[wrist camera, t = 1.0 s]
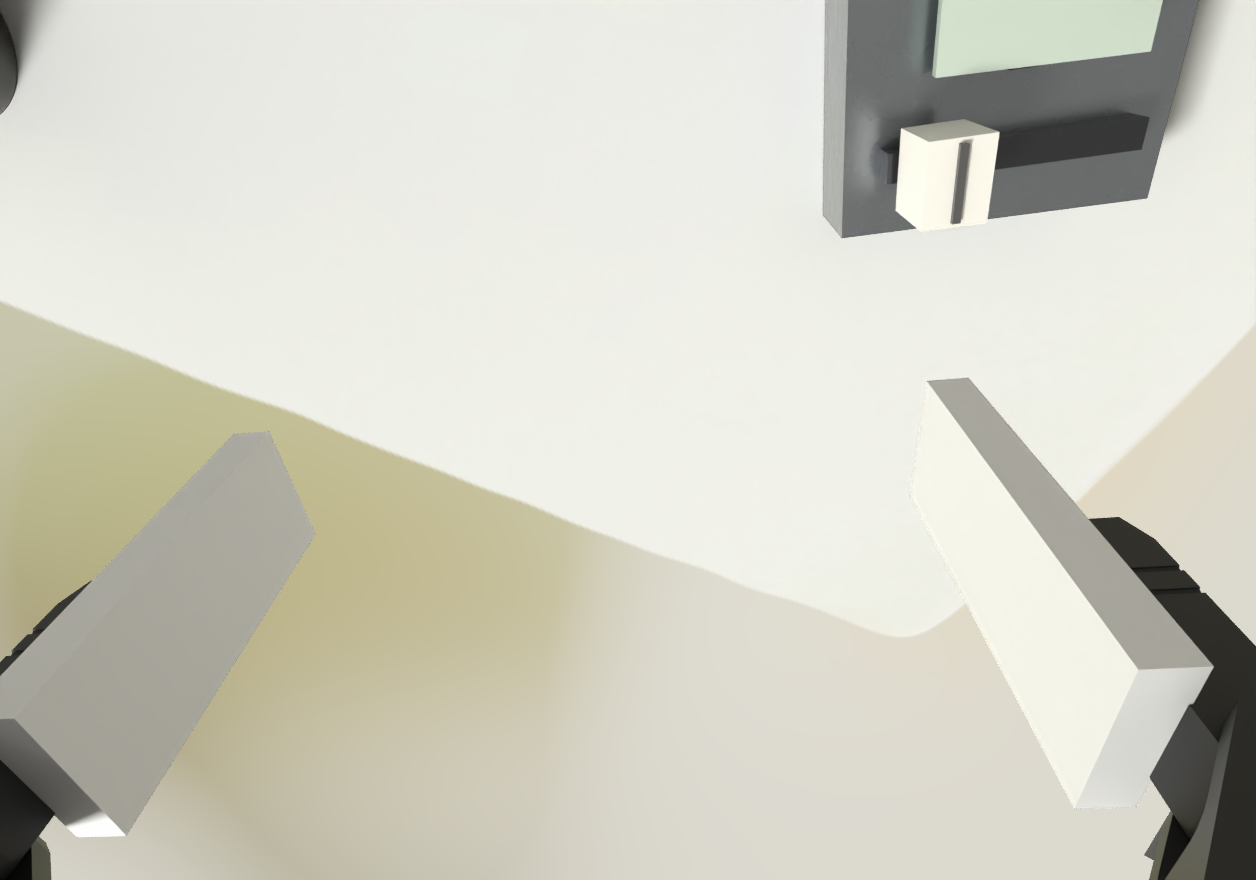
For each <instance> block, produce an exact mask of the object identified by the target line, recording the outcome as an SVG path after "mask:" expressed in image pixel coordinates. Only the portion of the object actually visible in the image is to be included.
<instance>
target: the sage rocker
mask: <svg viewBox="0 0 1256 880" xmlns="http://www.w3.org/2000/svg"><path fill="white" fill-rule="evenodd" d="M1162 2H1163V0H939V3H938V14H937V25H936V37H935V48H934V60H933V71H932V75H933V76H934V77H935V78H940V77H948V76H957V75H965V74H973V73H981V72H989V71H997V70H1005V69H1013V68H1021V67H1029V66H1037V65H1045V64H1054V63H1062V62H1070V61H1078V60H1086V59H1094V58H1102V57H1110V56H1118V55H1126V54H1134V53H1142V52H1151V49H1152V44H1153V40H1154V36H1155V32H1156V27H1157V23H1158V19H1159V15H1160V10H1161V6H1162Z"/></svg>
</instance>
